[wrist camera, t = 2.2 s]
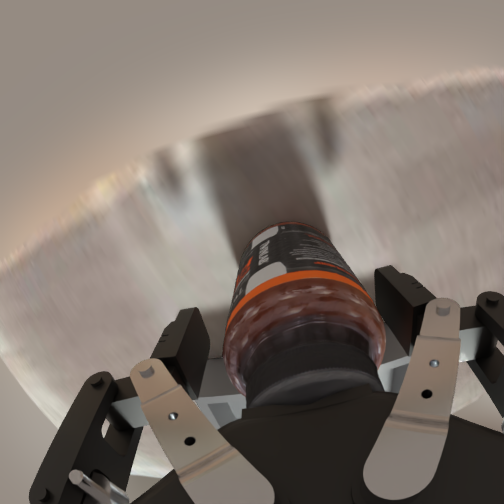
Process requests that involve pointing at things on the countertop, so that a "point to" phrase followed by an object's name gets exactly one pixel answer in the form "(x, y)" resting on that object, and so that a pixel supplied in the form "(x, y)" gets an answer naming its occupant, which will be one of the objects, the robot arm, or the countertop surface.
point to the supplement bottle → (299, 321)
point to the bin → (232, 402)
